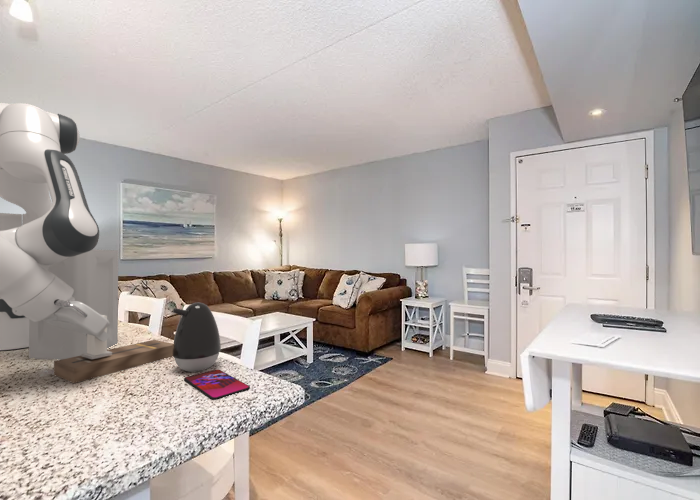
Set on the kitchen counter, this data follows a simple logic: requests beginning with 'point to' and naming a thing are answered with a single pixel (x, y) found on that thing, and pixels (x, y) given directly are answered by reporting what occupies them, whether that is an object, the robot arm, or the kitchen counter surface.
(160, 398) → the kitchen counter surface
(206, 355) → the pump dispenser
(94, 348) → the fader tab
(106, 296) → the grey box
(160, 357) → the board
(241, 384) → the smartphone
